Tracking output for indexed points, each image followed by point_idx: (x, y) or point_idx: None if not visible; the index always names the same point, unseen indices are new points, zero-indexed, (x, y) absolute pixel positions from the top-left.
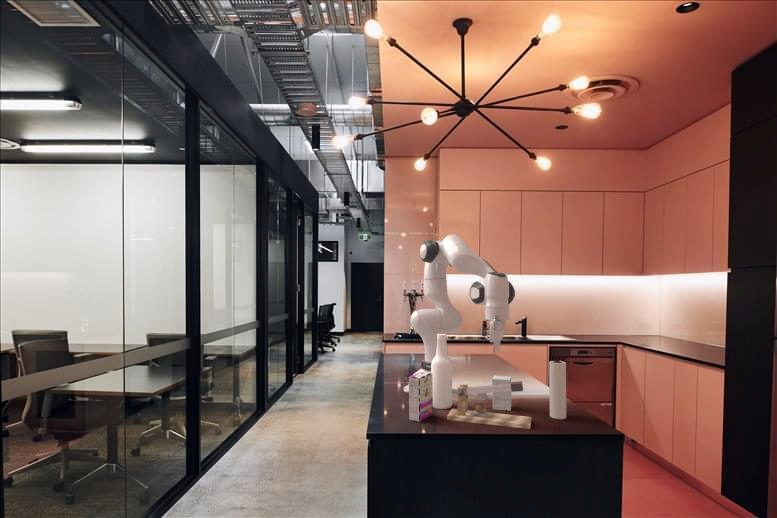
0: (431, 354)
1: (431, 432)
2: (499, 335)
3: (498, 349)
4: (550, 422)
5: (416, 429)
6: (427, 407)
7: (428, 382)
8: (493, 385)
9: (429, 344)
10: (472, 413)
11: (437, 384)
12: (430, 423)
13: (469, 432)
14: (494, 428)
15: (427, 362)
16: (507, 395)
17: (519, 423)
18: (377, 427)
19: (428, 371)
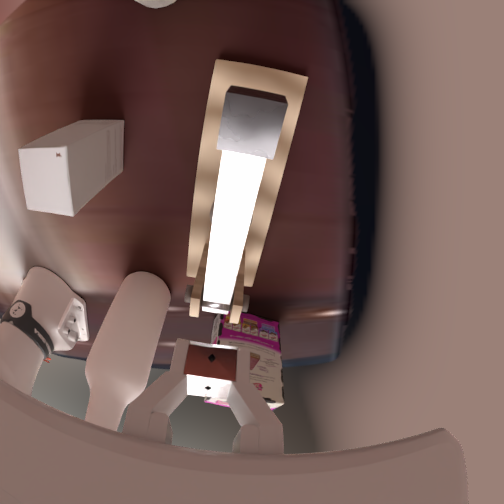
0: (35, 370)
1: (340, 302)
2: (466, 473)
3: (248, 370)
4: (221, 8)
5: (322, 322)
6: (247, 330)
7: None
8: (216, 222)
9: (30, 393)
10: None
11: (157, 342)
12: (284, 306)
13: (343, 238)
14: (310, 177)
15: (44, 358)
16: (100, 139)
17: (297, 106)
18: (311, 361)
19: (53, 342)
